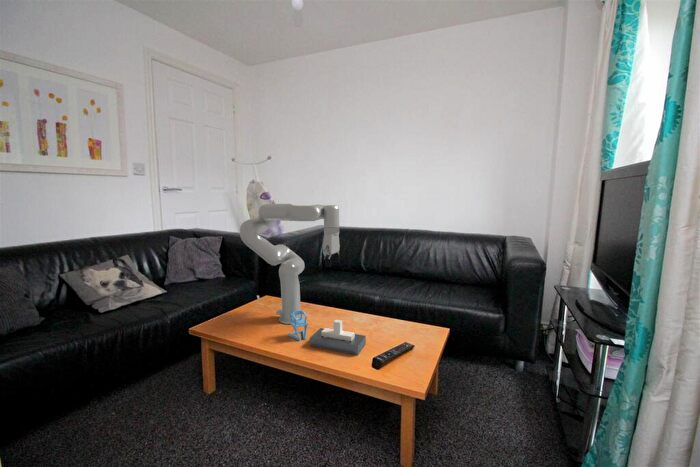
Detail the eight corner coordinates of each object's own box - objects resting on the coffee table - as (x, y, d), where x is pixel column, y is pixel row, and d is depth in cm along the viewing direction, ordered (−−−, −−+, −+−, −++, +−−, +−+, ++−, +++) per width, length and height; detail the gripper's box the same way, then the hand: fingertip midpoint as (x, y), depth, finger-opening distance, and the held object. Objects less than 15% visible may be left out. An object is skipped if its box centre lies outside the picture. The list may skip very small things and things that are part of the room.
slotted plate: (310, 346, 139) (310, 337, 138) (320, 336, 148) (320, 328, 147) (357, 355, 131) (357, 346, 130) (365, 344, 140) (365, 335, 139)
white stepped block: (321, 343, 140) (321, 320, 139) (325, 339, 144) (325, 317, 142) (351, 349, 135) (351, 325, 133) (354, 344, 139) (354, 321, 137)
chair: (294, 342, 142) (294, 317, 140) (287, 335, 149) (287, 311, 147) (310, 338, 146) (310, 313, 144) (303, 331, 153) (302, 307, 151)
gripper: (332, 228, 166) (332, 260, 168) (316, 232, 150) (317, 268, 152) (345, 228, 163) (345, 261, 166) (331, 233, 147) (331, 269, 150)
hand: (332, 264), depth 159 cm, fingers open, 9 cm apart
